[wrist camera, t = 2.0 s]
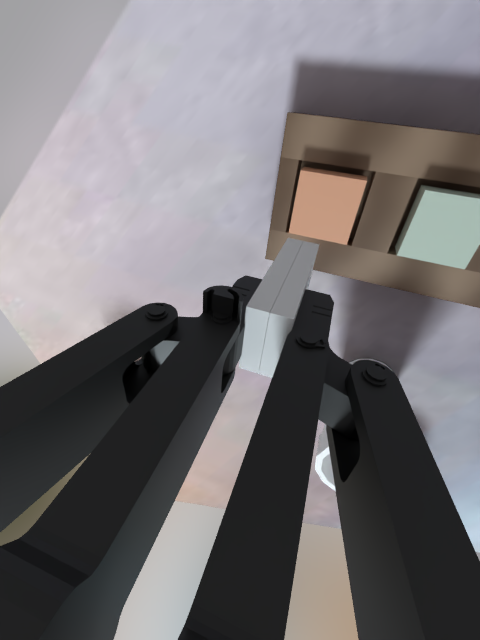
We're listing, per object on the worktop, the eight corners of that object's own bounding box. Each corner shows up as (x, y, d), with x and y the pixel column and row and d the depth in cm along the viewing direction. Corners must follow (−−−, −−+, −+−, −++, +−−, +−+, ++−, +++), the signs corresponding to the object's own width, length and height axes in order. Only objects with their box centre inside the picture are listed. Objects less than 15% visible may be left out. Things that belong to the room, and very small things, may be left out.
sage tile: (494, 196, 22) (504, 202, 20) (458, 259, 25) (464, 269, 23) (421, 184, 23) (425, 190, 21) (394, 246, 26) (396, 255, 24)
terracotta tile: (367, 176, 24) (367, 180, 22) (347, 237, 26) (346, 244, 25) (304, 166, 25) (300, 170, 23) (292, 226, 28) (288, 232, 26)
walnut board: (707, 161, 19) (755, 168, 17) (567, 313, 26) (587, 332, 24) (294, 112, 25) (287, 112, 22) (272, 248, 32) (265, 258, 30)
